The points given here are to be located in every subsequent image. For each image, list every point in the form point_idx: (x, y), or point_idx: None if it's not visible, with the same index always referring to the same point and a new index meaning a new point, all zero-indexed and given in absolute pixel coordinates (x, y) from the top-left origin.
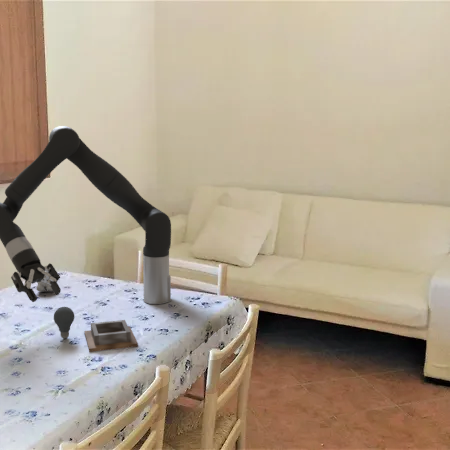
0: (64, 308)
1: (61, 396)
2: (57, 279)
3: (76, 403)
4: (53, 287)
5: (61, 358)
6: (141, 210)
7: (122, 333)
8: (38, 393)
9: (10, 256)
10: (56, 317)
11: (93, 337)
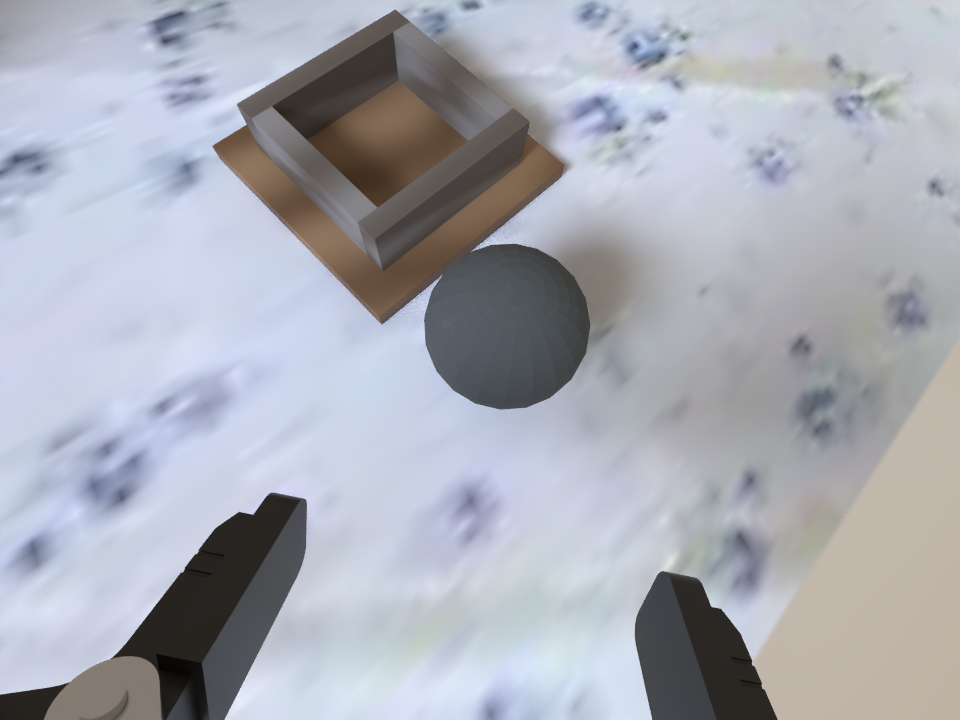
0: (529, 274)
1: (887, 69)
2: (2, 709)
3: (880, 14)
4: (244, 641)
5: (683, 242)
6: None
7: (424, 36)
8: (931, 138)
9: None
10: (588, 331)
11: (478, 184)
